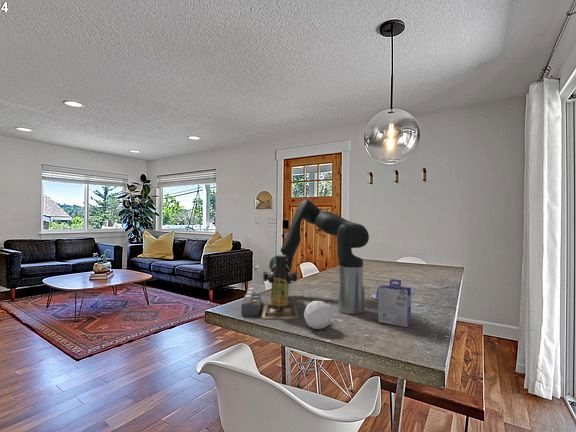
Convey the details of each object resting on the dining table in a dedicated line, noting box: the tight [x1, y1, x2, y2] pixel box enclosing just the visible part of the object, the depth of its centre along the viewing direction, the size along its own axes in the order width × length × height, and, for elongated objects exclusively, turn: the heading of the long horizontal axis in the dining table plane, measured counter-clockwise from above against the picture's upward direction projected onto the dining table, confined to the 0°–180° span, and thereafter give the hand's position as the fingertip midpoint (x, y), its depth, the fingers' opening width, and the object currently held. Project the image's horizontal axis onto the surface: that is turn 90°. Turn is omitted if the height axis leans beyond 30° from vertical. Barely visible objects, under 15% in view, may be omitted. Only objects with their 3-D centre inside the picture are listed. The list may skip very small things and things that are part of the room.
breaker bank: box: [240, 287, 262, 316], centre depth 123 cm, size 6×18×6 cm, turn 1°
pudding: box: [370, 285, 381, 300], centre depth 141 cm, size 12×12×5 cm
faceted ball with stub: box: [303, 300, 333, 330], centre depth 103 cm, size 9×9×12 cm
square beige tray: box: [261, 303, 300, 320], centre depth 117 cm, size 13×14×2 cm
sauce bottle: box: [270, 254, 289, 310], centre depth 117 cm, size 7×6×20 cm
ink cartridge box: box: [377, 278, 412, 328], centre depth 107 cm, size 10×6×14 cm, turn 58°
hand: (280, 280), depth 115 cm, fingers closed on sauce bottle, 6 cm apart
